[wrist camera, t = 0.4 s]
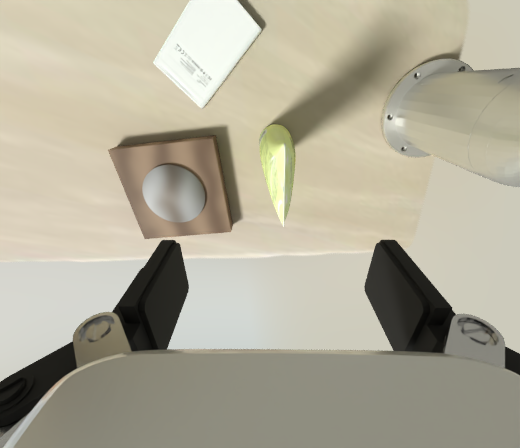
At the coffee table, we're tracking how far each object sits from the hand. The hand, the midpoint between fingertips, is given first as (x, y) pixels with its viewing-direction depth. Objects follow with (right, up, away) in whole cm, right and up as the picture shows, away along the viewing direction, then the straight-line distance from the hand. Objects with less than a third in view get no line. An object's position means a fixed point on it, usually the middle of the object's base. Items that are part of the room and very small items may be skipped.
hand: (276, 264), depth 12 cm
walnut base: (-15, +8, +30) cm, 35 cm away
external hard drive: (-8, +26, +21) cm, 34 cm away
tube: (+2, +15, +26) cm, 30 cm away
